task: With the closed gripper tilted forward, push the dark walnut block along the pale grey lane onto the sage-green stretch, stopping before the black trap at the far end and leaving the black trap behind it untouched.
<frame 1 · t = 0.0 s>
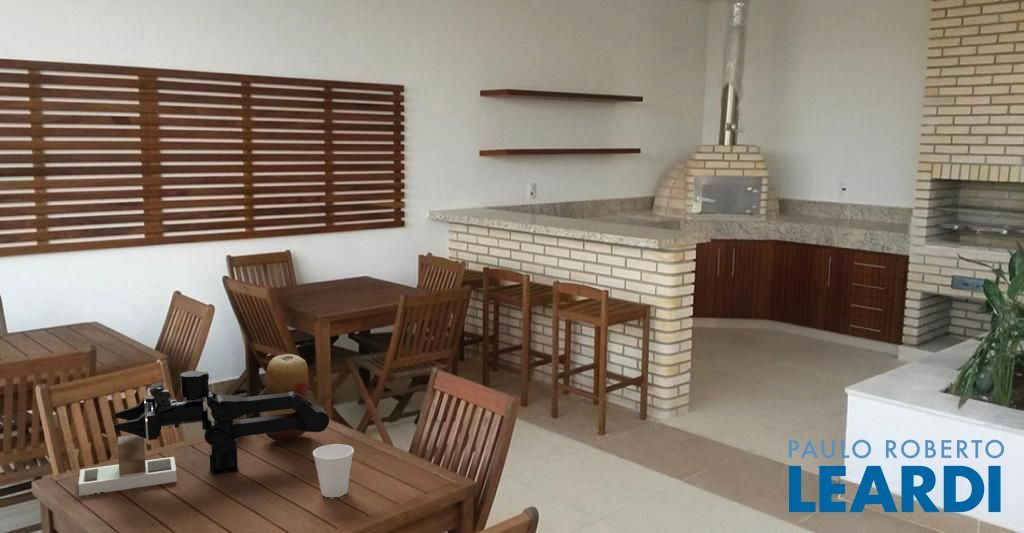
hand: (114, 421, 205), 17 cm above the table, tool horizontal, fingers open, 9 cm apart
butternut squash: (288, 440, 240), on the table
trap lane: (129, 481, 210), on the table
cup: (334, 494, 204), on the table
lighter: (237, 436, 242), on the table
walnut block: (132, 469, 210), point 3 cm above the table, touching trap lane
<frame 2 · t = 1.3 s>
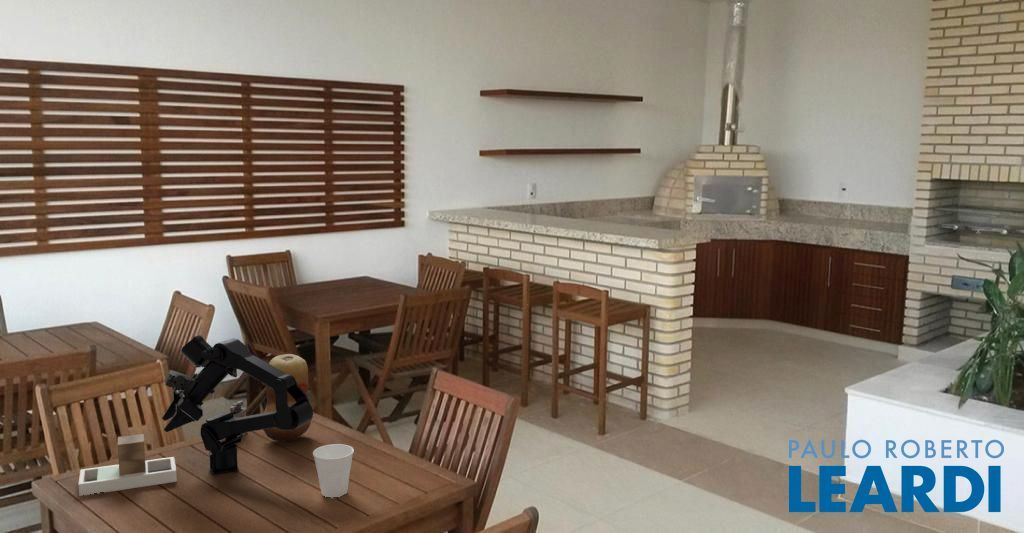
hand: (164, 425, 211), 14 cm above the table, tool tilted 45°, fingers open, 9 cm apart
nothing on the table moved.
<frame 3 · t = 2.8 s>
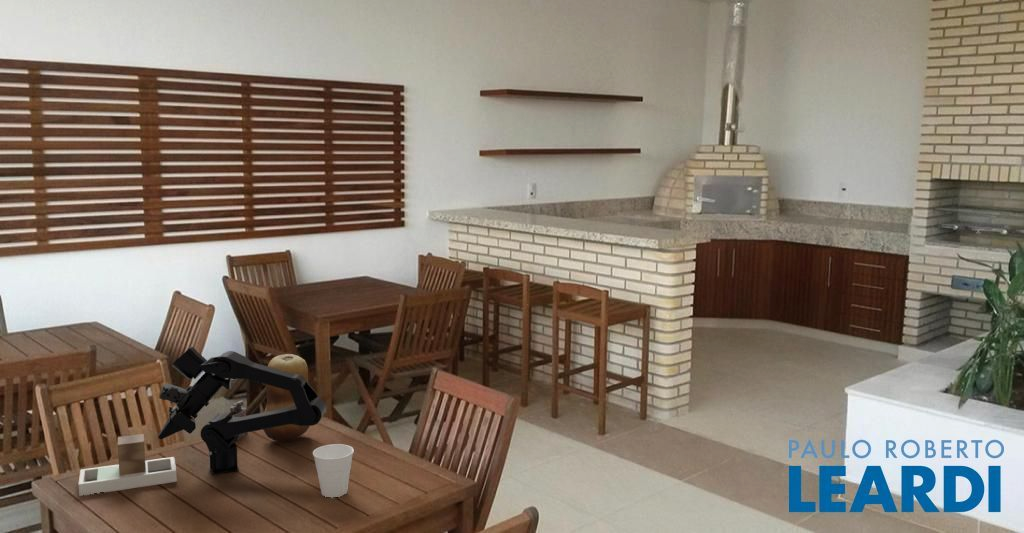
hand: (159, 438, 212), 10 cm above the table, tool tilted 45°, fingers closed
nothing on the table moved.
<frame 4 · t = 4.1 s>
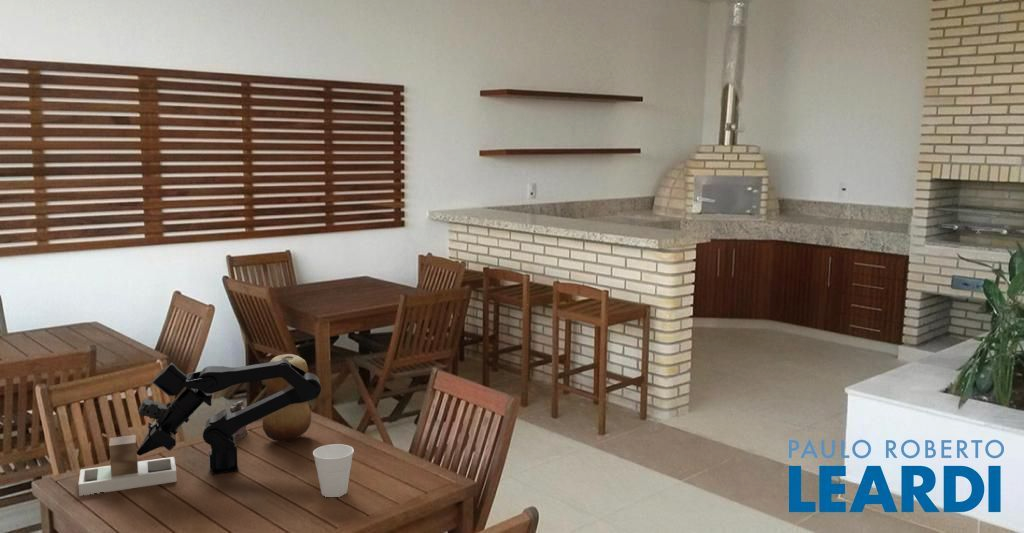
hand: (138, 454, 210), 7 cm above the table, tool tilted 45°, fingers closed, pressing on walnut block
walnut block: (124, 470, 209), point 3 cm above the table, touching gripper, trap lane
everything else where it was.
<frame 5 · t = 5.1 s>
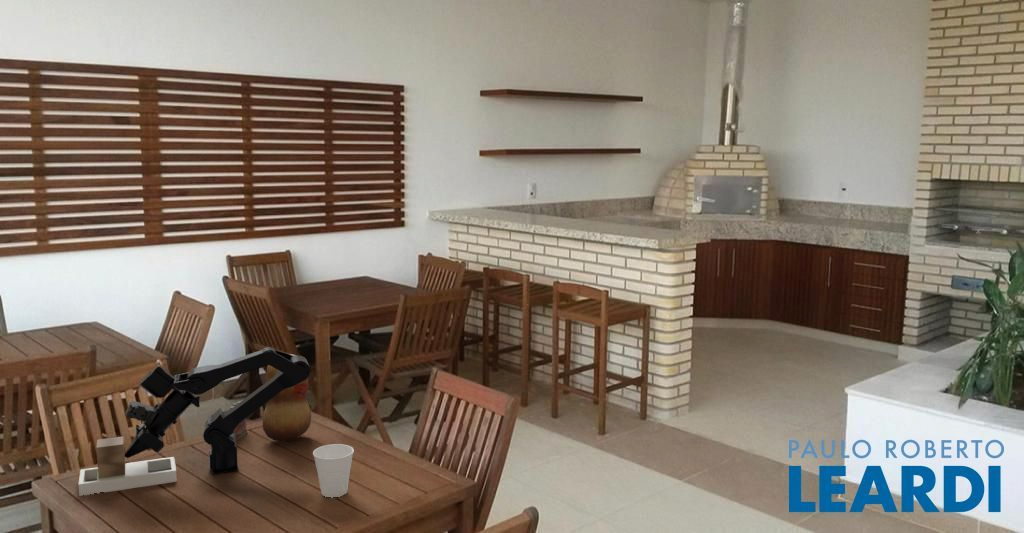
hand: (125, 456, 208), 7 cm above the table, tool tilted 45°, fingers closed
walnut block: (112, 472, 208), point 3 cm above the table, touching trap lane
everything else where it was.
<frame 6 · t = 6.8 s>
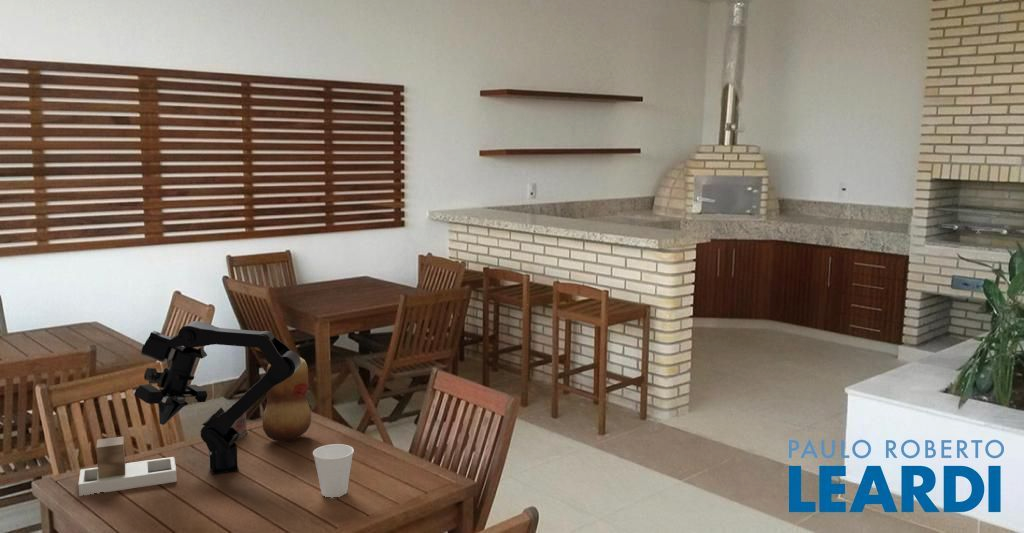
hand: (161, 424, 215), 13 cm above the table, tool tilted 20°, fingers closed
nothing on the table moved.
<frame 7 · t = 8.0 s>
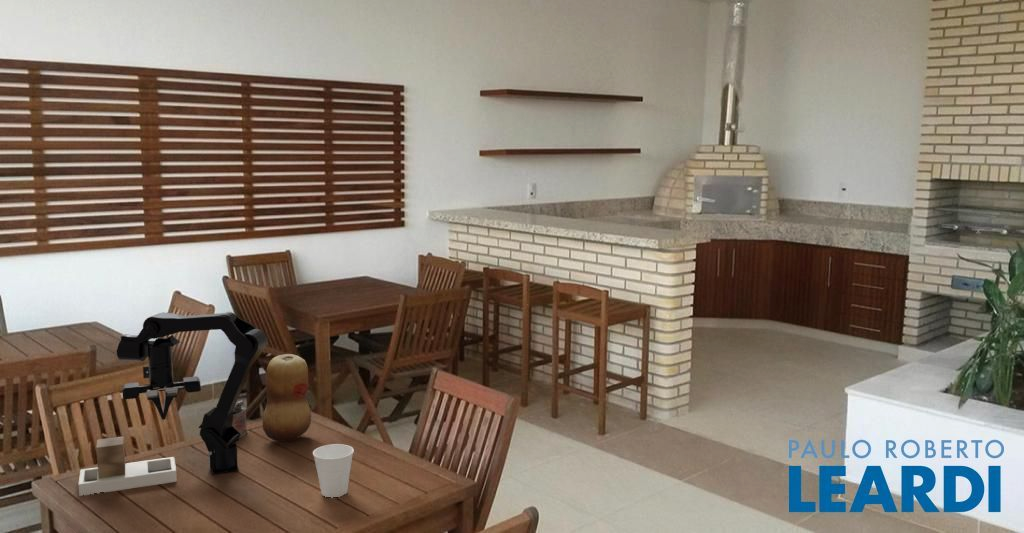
hand: (163, 419, 218), 13 cm above the table, tool pointing down, fingers closed
nothing on the table moved.
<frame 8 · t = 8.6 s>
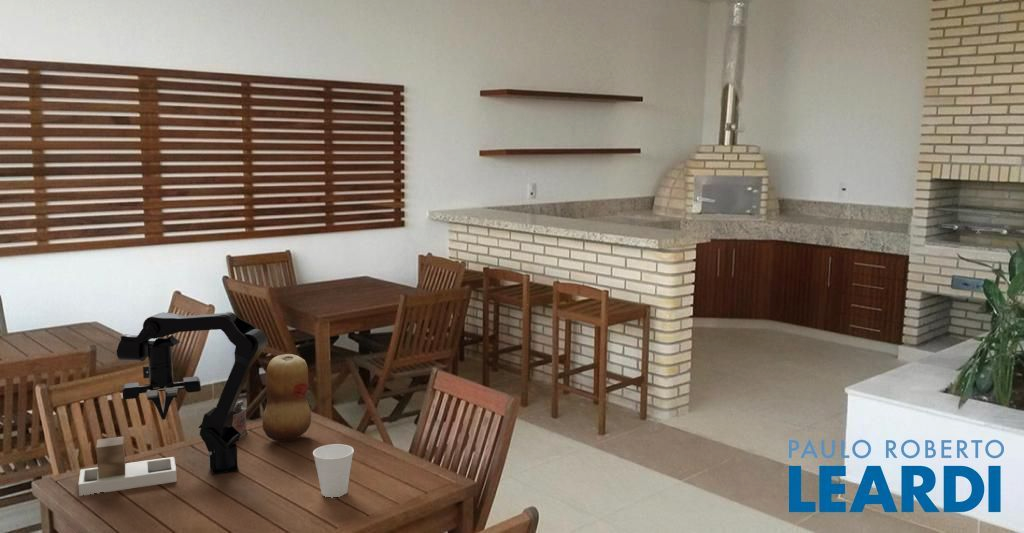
hand: (163, 419, 218), 13 cm above the table, tool pointing down, fingers closed
nothing on the table moved.
at the end: walnut block 0.1 cm from the target spot, point 3.0 cm above the table; walnut block tilted 0° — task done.
